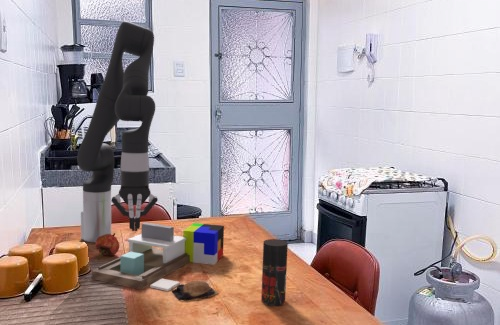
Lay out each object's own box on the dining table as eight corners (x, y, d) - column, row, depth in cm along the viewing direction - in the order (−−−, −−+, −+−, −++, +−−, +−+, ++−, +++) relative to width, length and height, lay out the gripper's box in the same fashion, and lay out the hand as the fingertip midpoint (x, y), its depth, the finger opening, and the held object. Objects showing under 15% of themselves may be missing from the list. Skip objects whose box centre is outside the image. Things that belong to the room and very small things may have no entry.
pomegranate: (111, 267, 145) (130, 242, 151) (98, 252, 141) (117, 226, 147) (96, 265, 149) (115, 240, 155) (82, 250, 145) (102, 225, 151)
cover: (127, 256, 142) (127, 225, 141) (147, 247, 151) (147, 218, 150) (167, 263, 136) (168, 232, 135) (186, 254, 145) (186, 224, 144)
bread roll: (206, 286, 129) (206, 273, 128) (220, 297, 121) (220, 283, 121) (168, 292, 123) (168, 279, 123) (181, 304, 116) (181, 290, 116)
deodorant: (260, 296, 121) (262, 239, 120) (283, 296, 122) (285, 239, 120) (262, 306, 116) (264, 246, 114) (286, 306, 116) (289, 246, 114)
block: (120, 277, 132) (120, 255, 131) (130, 272, 136) (130, 251, 135) (133, 279, 130) (134, 258, 129) (143, 274, 134) (143, 253, 133)
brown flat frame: (91, 278, 129) (91, 268, 129) (146, 253, 152) (146, 245, 152) (140, 289, 123) (141, 279, 123) (190, 261, 146) (190, 252, 146)
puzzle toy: (214, 266, 144) (214, 233, 143) (182, 262, 146) (183, 230, 145) (223, 256, 154) (223, 225, 153) (193, 252, 156) (194, 223, 155)
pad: (150, 287, 125) (150, 285, 125) (161, 280, 130) (162, 278, 130) (168, 291, 123) (168, 288, 123) (179, 284, 128) (179, 282, 128)
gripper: (158, 167, 136) (158, 226, 138) (110, 166, 133) (110, 227, 135) (160, 170, 129) (159, 233, 131) (109, 170, 126) (109, 234, 128)
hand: (134, 230), depth 133 cm, fingers closed
